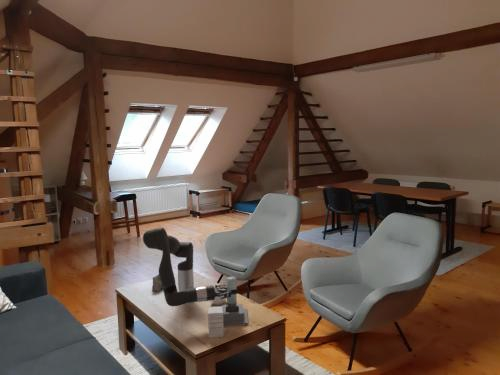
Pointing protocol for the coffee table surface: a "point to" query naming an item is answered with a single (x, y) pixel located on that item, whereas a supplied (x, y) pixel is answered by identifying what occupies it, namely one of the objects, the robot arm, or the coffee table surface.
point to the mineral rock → (157, 283)
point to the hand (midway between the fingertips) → (236, 289)
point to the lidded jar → (218, 300)
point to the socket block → (234, 315)
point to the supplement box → (215, 322)
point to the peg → (233, 299)
